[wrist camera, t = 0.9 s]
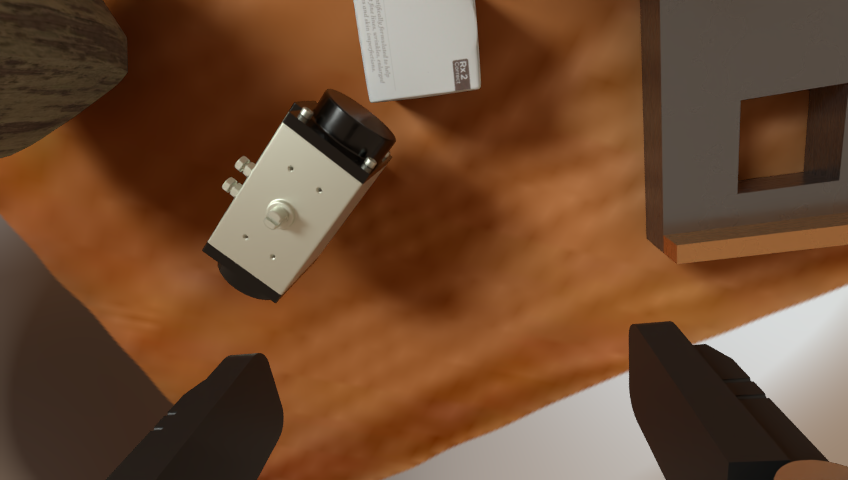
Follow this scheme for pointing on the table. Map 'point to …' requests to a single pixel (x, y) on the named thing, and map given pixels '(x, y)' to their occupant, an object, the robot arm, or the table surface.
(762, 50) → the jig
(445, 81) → the skincare box
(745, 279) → the table surface
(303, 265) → the pneumatic valve
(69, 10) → the olive green lantern
